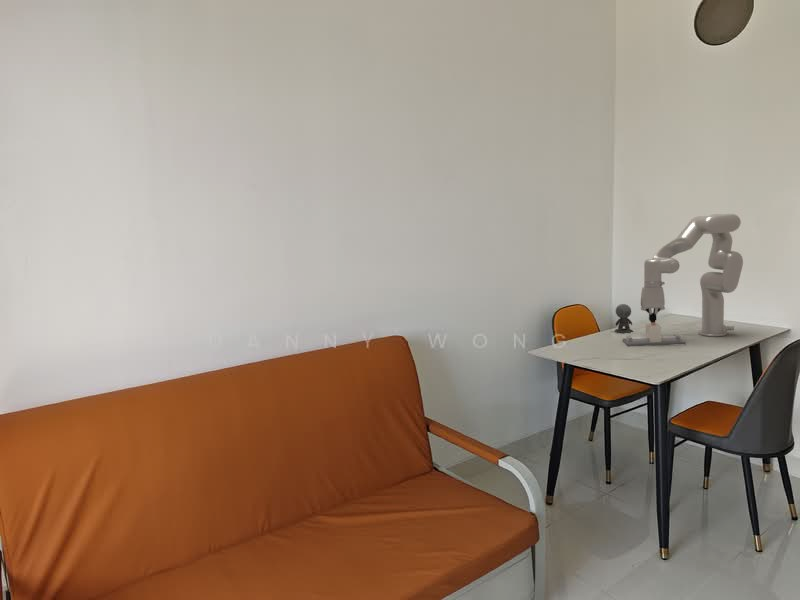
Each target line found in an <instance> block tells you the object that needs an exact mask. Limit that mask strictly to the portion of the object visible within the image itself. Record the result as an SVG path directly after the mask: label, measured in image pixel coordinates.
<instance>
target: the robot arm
mask: <svg viewBox="0 0 800 600" xmlns="http://www.w3.org/2000/svg"><path fill="white" fill-rule="evenodd" d="M741 222H742V221H741V218H740V217H739V216H738V214H736V213H735V214H734V213H724V214H722V213H717V214H710V215H704V216H702V215H699V216H695V217H693V218H692V219H690V221H689V222H688V223H687V225H685V227H684V228H683V229H682V230H681V232H680V233H679V234H678V236H677V237H676V238H675V239H673V240H671V241H670V242H668V243H666V244H665V245H664V246H661V248H660V249H659V250H658V251H657V252H656V253H655V254H654V256H653V257H652V258H650V259H649V258H648V259H645V261H644V266H643V269H644V275H643V280H644V284H643V287H642V289H641V293H640V294H641V295H640V306H641V307H640V310H641V311H645V312H647V314H648V320H649V323H651V322H655V323H656V321H657V315H658V313H659V312H661V311H664V310H665V309H666V308H665V303H666V301H665V292H664V287H663V285H665V282H664V281H662V274H674V273H676V272H678V270H679V269H680V265H681V264H680V262H679V260H677V259H676V258H674V256H676V255H678V254H681V253H685V252H687V251H689V250H692V249H693V247H695V245H696V244H697V243H698V242H699V240H700V239H701V238H702V236H703V235H711V236H712V243H711V244H712V245H711V248H710V251H709V256H708V262H707V263H708V266H709V268H711V269H713V270H718V271H708V272H704V273H703V274H702V276H701V277H700V279H699V284H700V285H699V286H700V290H701V301H702V302H701V304H702V305H701V329H700V330H698V332H697V333H698V334H699V335H701V336H706V337H725V336H727V335H728V331H735V326H734V325H733V326H730V325H725V323H724V315H725V312H724V311H725V310H724V309H725V299H724V295H723V293H726V294H731V293H732V292H734V291H736V289H737V288H738V285H739V281H740V277H741V274H742V270H743V266H744V260H743V256H742V254H741V253H740V252H738V251H734V250H732V246H733V236H732V234H731V233H733V232H735V231H737V230H738V229H739V228H740V226H741V224H742V223H741ZM720 271H722V272H720ZM652 309H653V310H652Z"/></svg>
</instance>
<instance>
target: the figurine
mask: <svg viewBox="0 0 800 600" xmlns="http://www.w3.org/2000/svg"><path fill="white" fill-rule="evenodd" d="M615 315H616V316H617V317H618V318H619V319H618V320H617V321H616V322H615V326H616V327H617V326H618V327H617V328H616V329H615V330H614V332H615V333H616V334H624V333H628V334H631V332H633V333H634V331H633V329H631V328H630V326H633V323H632V321H631V319H629V317H630V316H631V315H632V309H631V307H630V306H629V305H628V304H625V303H621V304H618V305H617V307H616V308H615Z"/></svg>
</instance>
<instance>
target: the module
mask: <svg viewBox="0 0 800 600" xmlns="http://www.w3.org/2000/svg"><path fill="white" fill-rule="evenodd" d="M661 336H662V326H661V325H660V324H658V323H656V321H655V322H649V323H645V337H648V338H649V342H661Z"/></svg>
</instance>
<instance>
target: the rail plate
mask: <svg viewBox="0 0 800 600" xmlns="http://www.w3.org/2000/svg"><path fill="white" fill-rule="evenodd" d="M625 337H626V338H622V342H623V341H624V342H625V343H626V344H625V343H624V342H623V343H624V344H625V345H626V346H627V347H642V346H643V345H651V346H670V345H669V344H685V345H686V341H684V340H683V339H681V335H680V334H678V333H673V335H661V342H649V338H648V337H646V336H631V335H626V336H625ZM643 347H644V346H643Z"/></svg>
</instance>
